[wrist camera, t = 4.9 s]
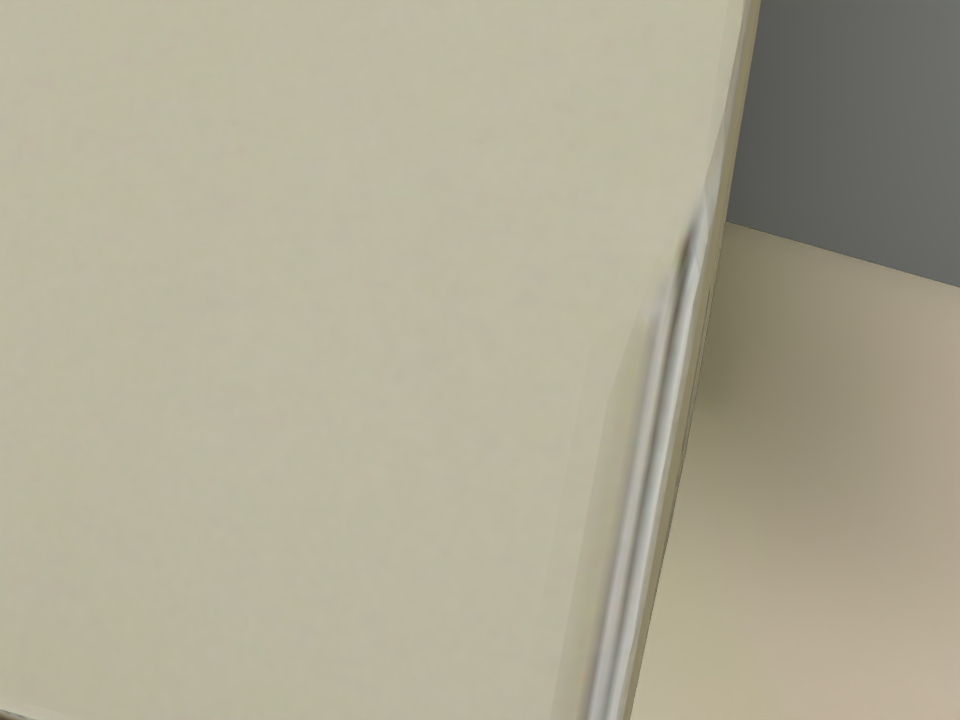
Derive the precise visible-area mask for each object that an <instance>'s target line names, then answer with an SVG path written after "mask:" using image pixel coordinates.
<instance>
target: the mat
mask: <svg viewBox="0 0 960 720" xmlns="http://www.w3.org/2000/svg"><path fill="white" fill-rule="evenodd" d="M726 221H727V222H731V223H734V224H738V225H741V226H745V227H748V228H752V229H756V230H759V231H763V232H766V233H770V234H773V235H777V236H780V237H784V238H787V239H791V240H794V241H798V242H801V243H805V244H808V245H812V246H815V247H819V248H822V249H826V250H829V251H833V252H837V253H840V254H844V255H847V256H851V257H854V258H858V259H861V260H865V261H868V262H872V263H875V264H879V265H882V266H886V267H889V268H893V269H896V270H900V271H903V272H907V273H910V274H914V275H918V276H921V277H925V278H928V279H932V280H935V281H939V282H942V283H946V284H949V285H953V286H956V287H960V0H761V4H760V10H759V17H758V24H757V31H756V37H755V43H754V49H753V55H752V61H751V67H750V73H749V79H748V85H747V91H746V97H745V103H744V109H743V116H742V122H741V128H740V134H739V140H738V146H737V152H736V158H735V164H734V170H733V176H732V183H731V189H730V195H729V201H728V208H727V214H726Z"/></svg>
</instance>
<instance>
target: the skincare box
mask: <svg viewBox="0 0 960 720" xmlns="http://www.w3.org/2000/svg"><path fill="white" fill-rule="evenodd" d="M760 4H761V0H0V720H630V716H631V712H632V707H633V702H634V697H635V692H636V687H637V683H638V678H639V673H640V668H641V663H642V658H643V653H644V649H645V644H646V639H647V634H648V629H649V624H650V620H651V615H652V610H653V606H654V601H655V596H656V592H657V587H658V582H659V577H660V573H661V568H662V563H663V559H664V554H665V550H666V546H667V542H668V537H669V532H670V527H671V522H672V517H673V512H674V507H675V502H676V497H677V492H678V487H679V482H680V478H681V473H682V468H683V463H684V458H685V453H686V447H687V442H688V436H689V431H690V425H691V420H692V414H693V409H694V404H695V399H696V393H697V387H698V381H699V375H700V369H701V363H702V357H703V351H704V345H705V339H706V333H707V327H708V322H709V316H710V310H711V304H712V298H713V293H714V287H715V281H716V275H717V269H718V264H719V257H720V251H721V245H722V239H723V233H724V227H725V221H726V214H727V208H728V201H729V195H730V189H731V183H732V176H733V170H734V164H735V158H736V152H737V146H738V140H739V134H740V128H741V122H742V116H743V109H744V103H745V97H746V91H747V85H748V79H749V73H750V67H751V61H752V55H753V49H754V43H755V37H756V31H757V24H758V17H759V10H760Z"/></svg>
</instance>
